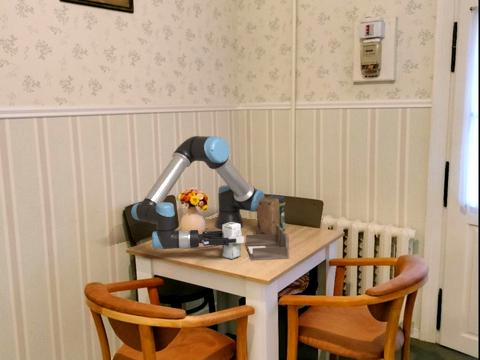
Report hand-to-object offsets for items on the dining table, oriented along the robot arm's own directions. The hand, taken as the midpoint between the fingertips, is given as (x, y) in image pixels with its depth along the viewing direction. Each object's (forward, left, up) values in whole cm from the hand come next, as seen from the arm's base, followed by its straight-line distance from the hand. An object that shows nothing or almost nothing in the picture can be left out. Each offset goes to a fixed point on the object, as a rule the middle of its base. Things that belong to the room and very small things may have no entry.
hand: (242, 236), depth 192 cm
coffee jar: (-43, +23, -9) cm, 50 cm away
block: (-29, +16, -9) cm, 35 cm away
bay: (-6, +11, -9) cm, 16 cm away
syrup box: (0, -5, -9) cm, 10 cm away
